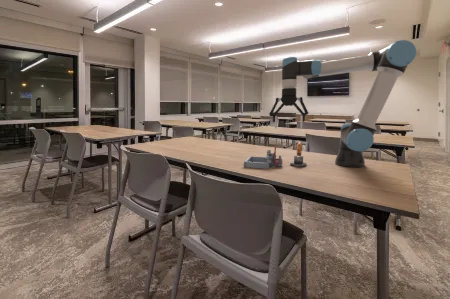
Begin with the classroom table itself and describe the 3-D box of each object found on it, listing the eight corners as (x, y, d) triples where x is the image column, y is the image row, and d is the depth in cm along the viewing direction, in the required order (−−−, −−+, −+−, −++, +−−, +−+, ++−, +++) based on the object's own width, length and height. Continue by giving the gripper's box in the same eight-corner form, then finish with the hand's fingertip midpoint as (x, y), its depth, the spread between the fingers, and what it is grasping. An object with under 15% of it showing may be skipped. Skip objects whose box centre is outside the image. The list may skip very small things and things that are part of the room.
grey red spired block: (287, 164, 136) (273, 146, 136) (270, 175, 139) (257, 157, 139) (286, 159, 147) (274, 143, 147) (271, 170, 150) (259, 153, 150)
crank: (302, 164, 141) (303, 145, 139) (293, 163, 142) (294, 145, 140) (303, 159, 153) (304, 142, 151) (294, 159, 154) (295, 142, 152)
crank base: (306, 163, 147) (306, 161, 147) (306, 167, 138) (306, 165, 138) (290, 162, 150) (290, 160, 149) (289, 166, 141) (289, 164, 141)
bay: (272, 162, 151) (272, 157, 150) (268, 168, 136) (268, 163, 135) (250, 160, 155) (250, 156, 154) (244, 167, 140) (244, 161, 139)
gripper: (312, 87, 136) (310, 127, 140) (265, 89, 140) (265, 127, 143) (315, 86, 129) (313, 128, 132) (265, 88, 132) (265, 128, 136)
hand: (288, 128), depth 138 cm, fingers open, 13 cm apart
